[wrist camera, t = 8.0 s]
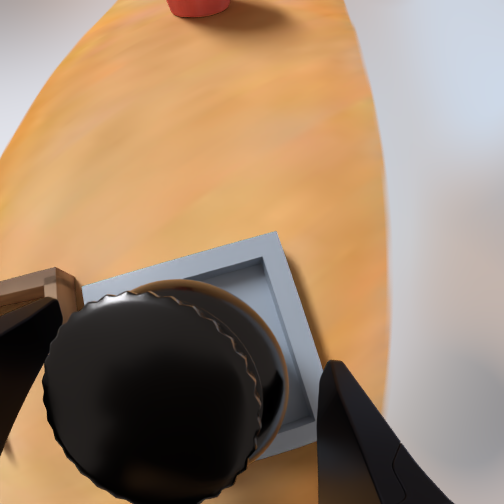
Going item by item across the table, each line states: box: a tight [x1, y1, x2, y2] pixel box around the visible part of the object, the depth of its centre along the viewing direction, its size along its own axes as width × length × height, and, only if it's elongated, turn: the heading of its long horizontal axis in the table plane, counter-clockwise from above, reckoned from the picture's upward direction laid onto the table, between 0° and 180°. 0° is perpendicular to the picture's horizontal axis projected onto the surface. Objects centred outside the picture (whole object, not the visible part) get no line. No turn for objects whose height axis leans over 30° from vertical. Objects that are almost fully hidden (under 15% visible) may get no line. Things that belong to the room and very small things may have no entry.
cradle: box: [0, 267, 77, 337], centre depth 15 cm, size 12×12×2 cm
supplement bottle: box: [42, 279, 289, 504], centre depth 10 cm, size 7×7×12 cm
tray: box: [82, 231, 323, 461], centre depth 16 cm, size 12×12×2 cm
